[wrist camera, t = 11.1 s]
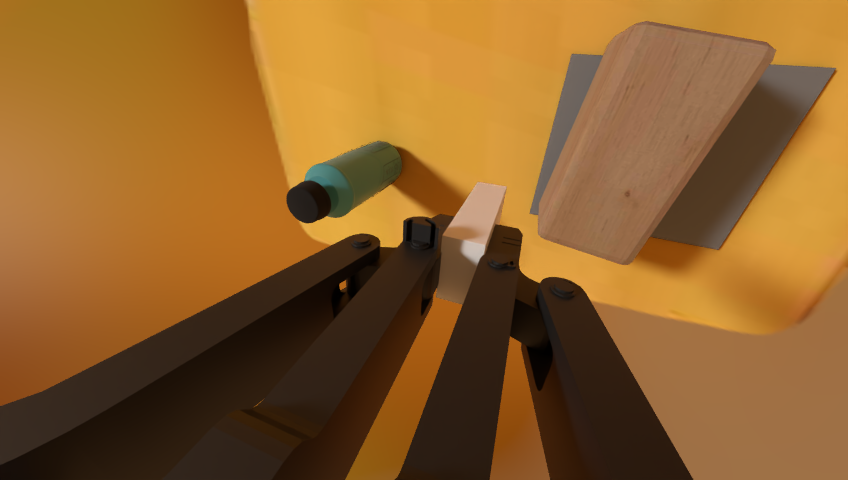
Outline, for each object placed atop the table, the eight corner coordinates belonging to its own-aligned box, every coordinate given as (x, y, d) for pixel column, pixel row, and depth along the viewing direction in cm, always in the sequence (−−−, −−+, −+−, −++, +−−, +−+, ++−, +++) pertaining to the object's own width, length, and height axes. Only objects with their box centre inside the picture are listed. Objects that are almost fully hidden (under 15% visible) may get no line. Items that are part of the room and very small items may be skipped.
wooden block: (792, 43, 20) (630, 271, 31) (720, 54, 29) (612, 230, 39) (636, 16, 22) (534, 239, 33) (611, 33, 31) (536, 207, 41)
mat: (571, 54, 33) (572, 53, 32) (832, 68, 27) (836, 68, 27) (529, 212, 42) (529, 213, 42) (716, 248, 36) (718, 249, 36)
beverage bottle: (381, 128, 44) (281, 158, 27) (416, 157, 44) (338, 203, 28) (362, 163, 48) (265, 207, 31) (395, 189, 48) (315, 247, 31)
